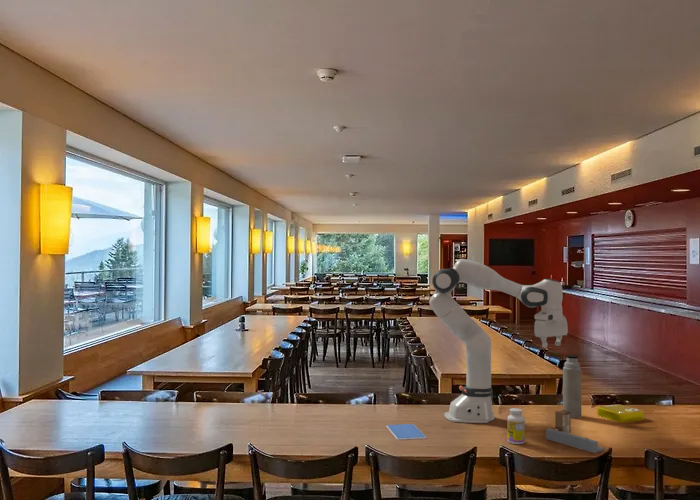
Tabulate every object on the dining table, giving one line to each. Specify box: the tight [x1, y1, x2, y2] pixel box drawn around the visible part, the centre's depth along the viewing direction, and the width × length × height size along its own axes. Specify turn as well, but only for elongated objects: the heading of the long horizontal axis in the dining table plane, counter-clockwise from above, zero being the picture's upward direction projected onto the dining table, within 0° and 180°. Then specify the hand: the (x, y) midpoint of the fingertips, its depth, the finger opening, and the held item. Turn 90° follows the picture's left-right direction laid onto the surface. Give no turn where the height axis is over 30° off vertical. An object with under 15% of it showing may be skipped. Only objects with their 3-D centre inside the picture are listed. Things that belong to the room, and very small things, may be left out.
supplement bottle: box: [506, 407, 526, 445], centre depth 223 cm, size 7×7×13 cm
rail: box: [545, 427, 605, 454], centre depth 222 cm, size 6×21×5 cm, turn 36°
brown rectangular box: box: [554, 409, 572, 434], centre depth 228 cm, size 6×3×11 cm, turn 121°
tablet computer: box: [385, 423, 428, 441], centre depth 235 cm, size 19×13×1 cm, turn 10°
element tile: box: [597, 403, 645, 424], centre depth 262 cm, size 15×15×5 cm
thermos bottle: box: [562, 354, 582, 419], centre depth 264 cm, size 8×8×28 cm
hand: (551, 346), depth 253 cm, fingers open, 8 cm apart
